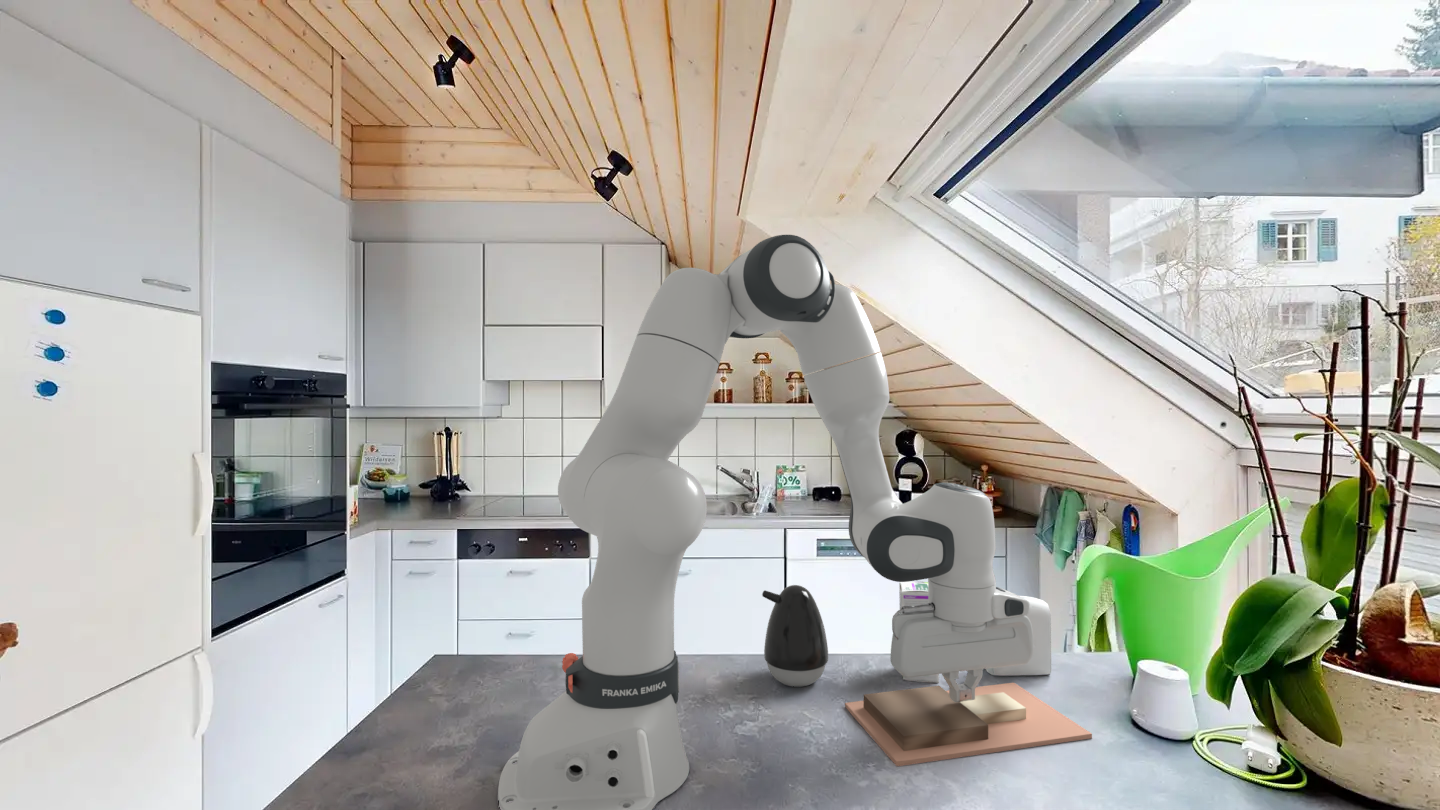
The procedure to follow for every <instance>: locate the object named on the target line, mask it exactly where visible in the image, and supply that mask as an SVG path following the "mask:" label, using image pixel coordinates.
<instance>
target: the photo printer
mask: <svg viewBox="0 0 1440 810" xmlns="http://www.w3.org/2000/svg"><path fill="white" fill-rule="evenodd" d="M1019 596H1020V597H1022V598H1024V599H1026V600H1027V601H1028V602H1029V604H1030V611H1029V613H1028V614H1027V615H1025V616H1027V617H1028V618H1029V620H1030V622H1031V625H1032V633H1033V656H1032V658H1031V659H1030V661H1029V662H1028V663H1027V664H1020V665H1011V666H1002V667H994V668H985V670H986V672H987V673H988V674H989V675H991V676H1003V677H1004V676H1007V677H1009V676H1011V677H1012V676H1043V675H1046V676H1047V675H1051V674H1052V625H1051V624H1052V621H1051V620H1052V617H1051V616H1052V615H1051V610H1050V606H1049V604H1048V602H1046V601H1044V600H1043V599H1039V598H1037V597H1033V596H1026V595H1025V596H1024V595H1019Z"/></svg>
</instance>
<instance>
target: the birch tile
mask: <svg viewBox="0 0 1440 810" xmlns="http://www.w3.org/2000/svg"><path fill="white" fill-rule="evenodd" d="M960 703H962V704H963V705H964V706H965V707H967V708H968V709H969V710H970V711H972V712H973V713H974V714H975V715H977V716H978V717H979V718H980V719H982V720H983V721H984V722H985V723H987V724H991V723H999V722H1006V721H1014V720H1021V719H1026V708H1025V707H1024V706H1022V705H1021V704H1020V703H1018V702H1017V701H1015V700H1014V699H1012V698H1011V697H1010V696H1008V695H1007V694H1005V693H1004V692H1002V693H994V694H985V695H977V696H975V700H969V701H962V702H960Z"/></svg>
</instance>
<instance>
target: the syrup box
mask: <svg viewBox="0 0 1440 810" xmlns="http://www.w3.org/2000/svg"><path fill="white" fill-rule="evenodd" d="M898 584H899V587H898V588H899V598H898V599H899V610H900V609H901V608H902V607H903V606H906V605H911V606H914V605H920V604H927V603H928V581H927V582H926V581H921V580H916V581H909V582H898ZM900 614H903V613H902V612H901V613H900ZM901 675H902V674H901ZM902 680H903V681H910V682H918V683H919V682H920V683H940V674H933V675H925V676H916V677H904V676H903V675H902Z"/></svg>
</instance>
